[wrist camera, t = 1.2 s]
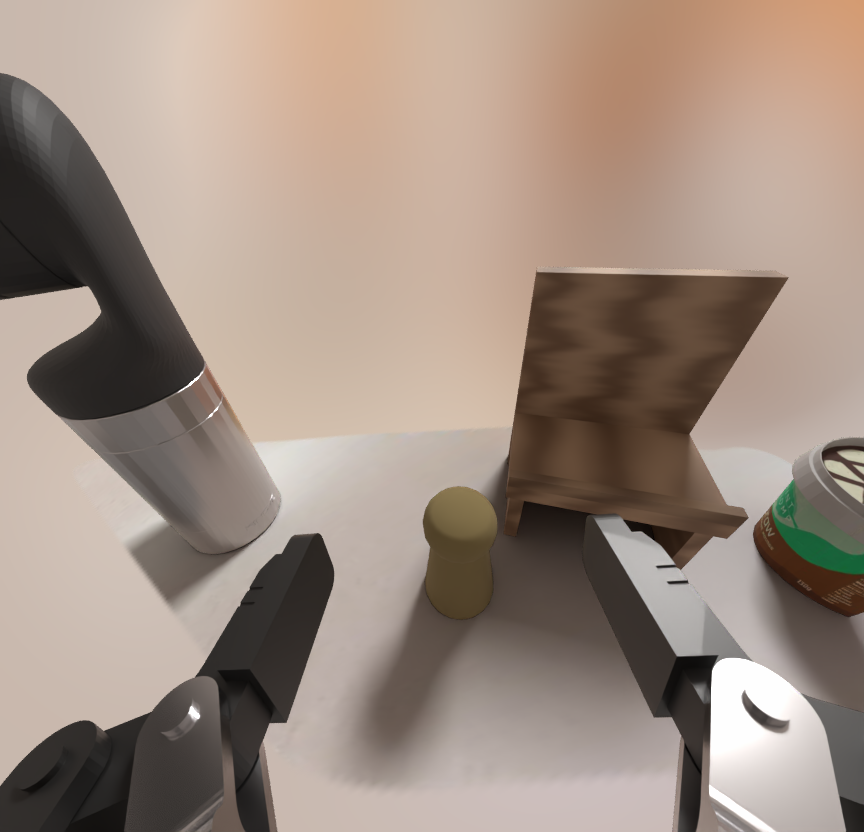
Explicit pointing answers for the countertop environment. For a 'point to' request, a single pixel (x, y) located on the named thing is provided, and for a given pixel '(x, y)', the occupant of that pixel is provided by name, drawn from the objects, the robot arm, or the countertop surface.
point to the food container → (820, 527)
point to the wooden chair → (630, 395)
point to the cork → (459, 551)
